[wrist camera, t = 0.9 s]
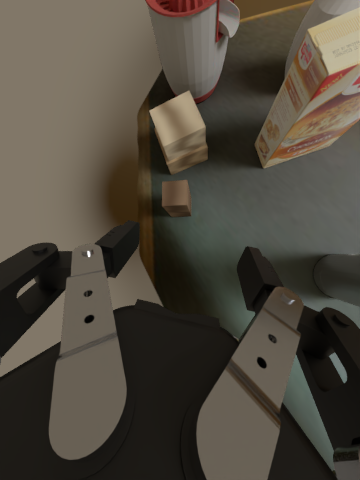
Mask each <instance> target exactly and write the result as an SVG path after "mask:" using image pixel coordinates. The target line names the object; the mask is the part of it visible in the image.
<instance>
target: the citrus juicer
mask: <svg viewBox="0 0 360 480" xmlns="http://www.w3.org/2000/svg"><path fill="white" fill-rule="evenodd" d="M146 3H147V5H148V9H149V13H150V17H151V22H152V26H153V30H154V35H155V39H156V44H157V48H158V52H159V56H160V61H161V64H162V68H163V71H164V73H165V76H166V79H167V81H168V83H169V85H170V88H171V90H172V91H173V93H174V95H175V96H176V97H177V96H179V95H181V94H183V93H185V92H187V91H190V93H191V95H192V98H193V100H194V102H195V104H197V103H200V102H202V101H204V100H206V99H207V98H208V97H209V96H210V95H211V94H212V93H213V91H214V89H215V87H216V85H217V83H218V80H219V78H220V74H221V71H222V67H223V63H224V59H225V54H226V49H227V42H228V37H230V38H231V37H233V35H234V34H235V33H236V31H237V28H238V25H239V19H240V13H239V9H238V8H237V6H236V5H235V4H234V0H146Z"/></svg>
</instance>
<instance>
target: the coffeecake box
mask: <svg viewBox="0 0 360 480" xmlns="http://www.w3.org/2000/svg"><path fill="white" fill-rule="evenodd" d="M358 120H360V7H359V8H356V9H354V10H352V11H349V12H347V13H345V14H342V15H340V16H338V17H335V18H333V19H331V20H328V21H326V22H324V23H322V24H319V25H317V26H315V27H312V28H310V29H308V30H307V31H306V34H305V36H304V39H303V41H302V43H301V45H300V47H299V49H298V51H297V54H296V56H295V58H294V60H293V62H292V64H291V67H290V69H289V71H288V73H287V75H286V77H285V80H284V82H283V84H282V86H281V88H280V90H279V92H278V95H277V97H276V99H275V101H274V103H273V105H272V107H271V110H270V112H269V114H268V116H267V118H266V120H265V123H264V125H263V127H262V129H261V131H260V133H259V135H258V138H257V140H256V142H255V144H254V145H255V147H256V150H257V153H258V156H259V158H260V162H261V164H262V167H263V169H264V168H267V167H270V166H273V165H276V164H279V163H282V162H285V161H288V160H290V159H293V158H296V157H299V156H302V155H305V154H308V153H311V152H314V151H317V150H320V149H323V148H325V147H328V146H330V145H331V144H332V143H333V142H334V141H335V140H336V139H338V138H339V137H340V136H341V135H342V134H343V133H345V132H346V131H347V130H348V129H349V128H350V127H351V126H353V125H354V124H355V123H356V122H357V121H358Z"/></svg>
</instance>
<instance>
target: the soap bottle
mask: <svg viewBox="0 0 360 480" xmlns="http://www.w3.org/2000/svg"><path fill="white" fill-rule="evenodd" d="M359 7H360V0H315V1H314V2H313V4H312V6H311V7H310V9H309V11H308V12H307V14H306V15H305V17H304V19H303V21H302V23H301V25H300V27H299V29H298V31H297V34H296V36H295V38H294V40H293V42H292V45H291V48H290V51H289V55H288V58H287V61H286V66H285V77H286V75H287V73H288V71H289V69H290V67H291V64H292V62H293V60H294V58H295V56H296V54H297V51H298V49H299V47H300V45H301V43H302V41H303V39H304V36H305V34H306V31H307V30H308V29H310V28H312V27H315V26H317V25H319V24H322V23H324V22H326V21H328V20H331V19H333V18H335V17H338V16H340V15H342V14H345V13H347V12H349V11H352V10H354V9H356V8H359Z"/></svg>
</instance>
